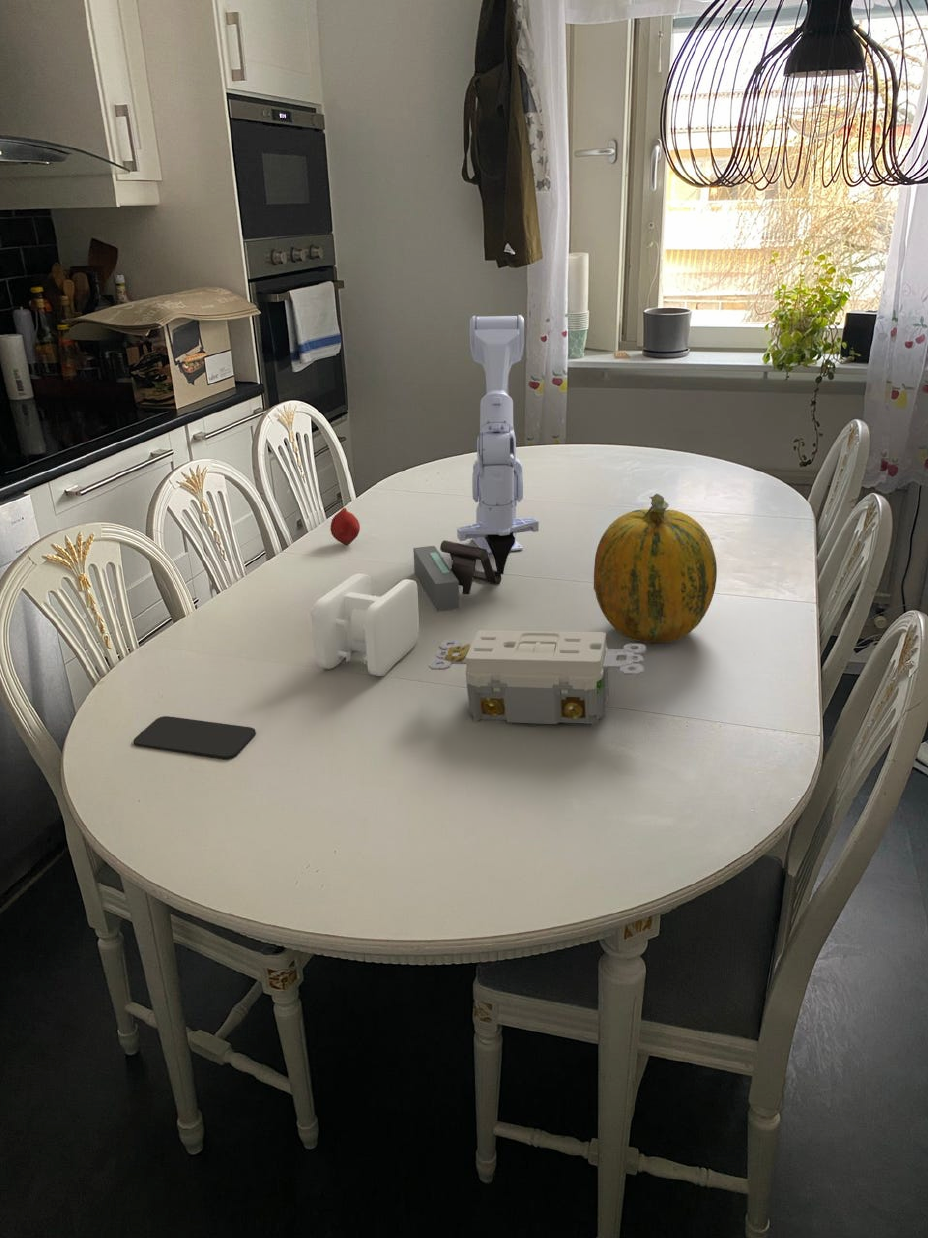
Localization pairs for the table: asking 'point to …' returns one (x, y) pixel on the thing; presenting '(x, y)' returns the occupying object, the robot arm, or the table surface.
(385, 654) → the cable organizer
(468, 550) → the portable electronic device stand
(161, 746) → the phone
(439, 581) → the charging dock
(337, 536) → the onion
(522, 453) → the table surface
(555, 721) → the electrical outlet
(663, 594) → the pumpkin
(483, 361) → the robot arm
